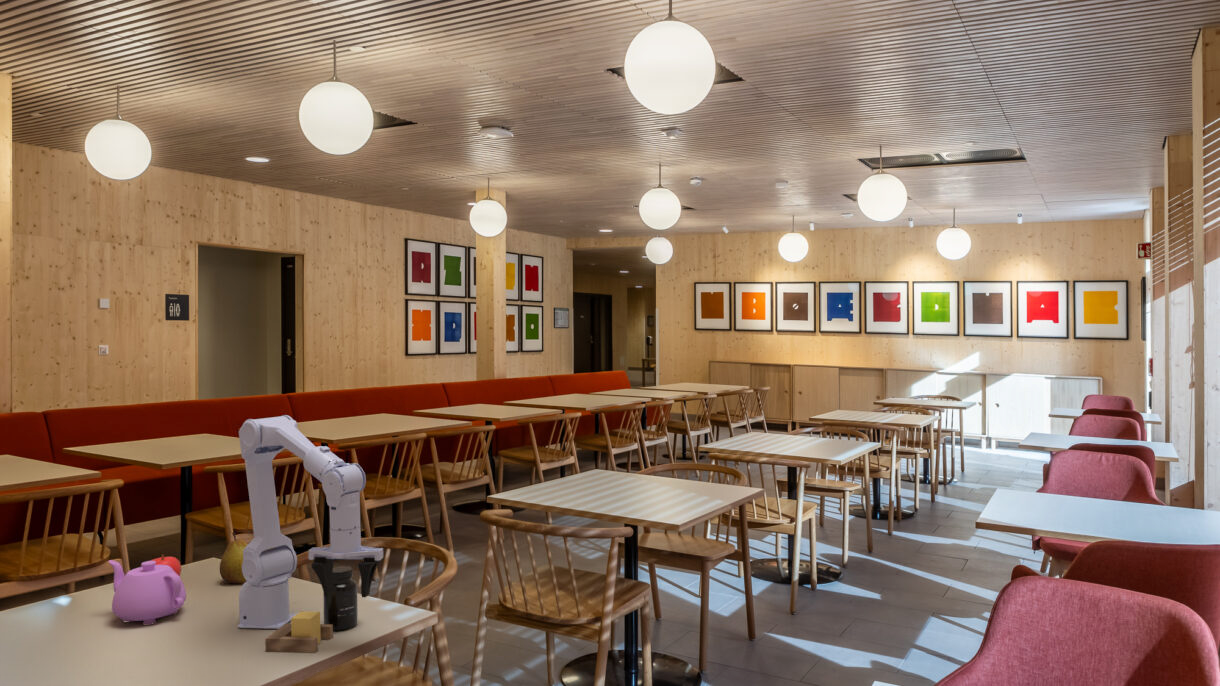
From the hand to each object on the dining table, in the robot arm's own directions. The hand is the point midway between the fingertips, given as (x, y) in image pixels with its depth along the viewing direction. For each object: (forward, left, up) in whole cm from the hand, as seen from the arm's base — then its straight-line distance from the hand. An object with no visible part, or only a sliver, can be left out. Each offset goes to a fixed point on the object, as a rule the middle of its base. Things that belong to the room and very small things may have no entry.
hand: (347, 595), depth 160 cm
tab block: (-9, 0, -10) cm, 13 cm away
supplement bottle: (-6, +10, -10) cm, 15 cm away
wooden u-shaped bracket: (-10, 0, -10) cm, 14 cm away
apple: (-62, +33, -10) cm, 71 cm away
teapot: (-52, +13, -10) cm, 55 cm away
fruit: (-45, +38, -10) cm, 60 cm away
